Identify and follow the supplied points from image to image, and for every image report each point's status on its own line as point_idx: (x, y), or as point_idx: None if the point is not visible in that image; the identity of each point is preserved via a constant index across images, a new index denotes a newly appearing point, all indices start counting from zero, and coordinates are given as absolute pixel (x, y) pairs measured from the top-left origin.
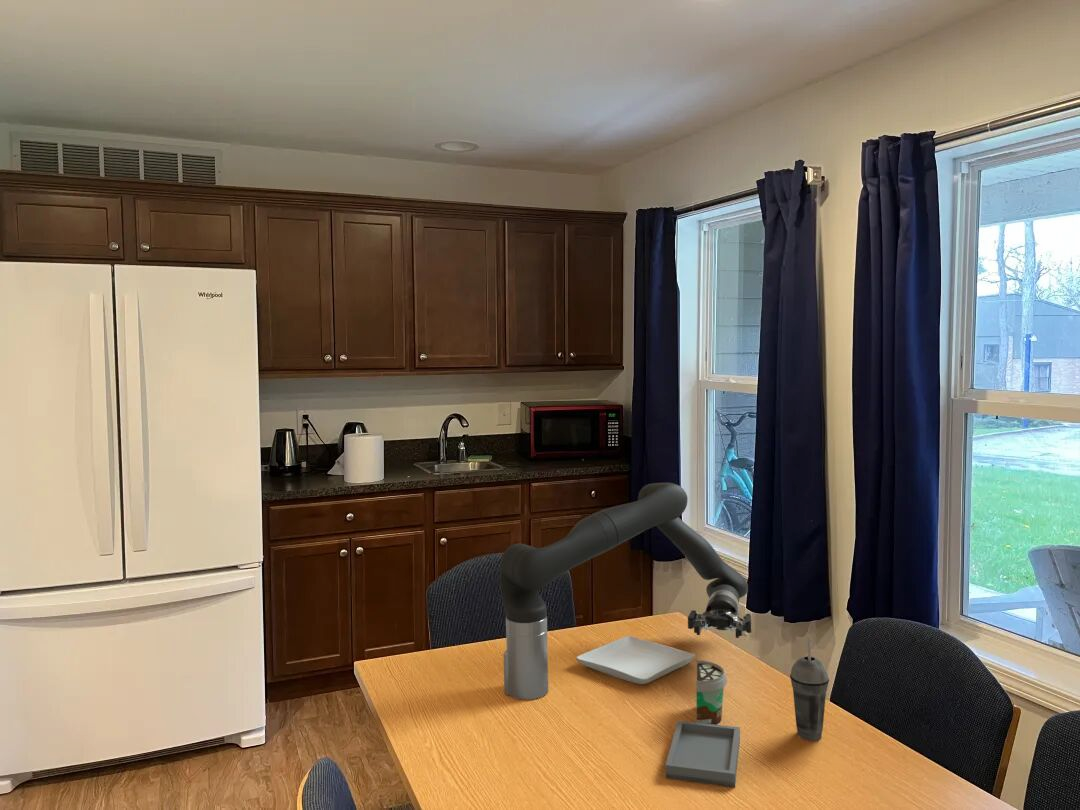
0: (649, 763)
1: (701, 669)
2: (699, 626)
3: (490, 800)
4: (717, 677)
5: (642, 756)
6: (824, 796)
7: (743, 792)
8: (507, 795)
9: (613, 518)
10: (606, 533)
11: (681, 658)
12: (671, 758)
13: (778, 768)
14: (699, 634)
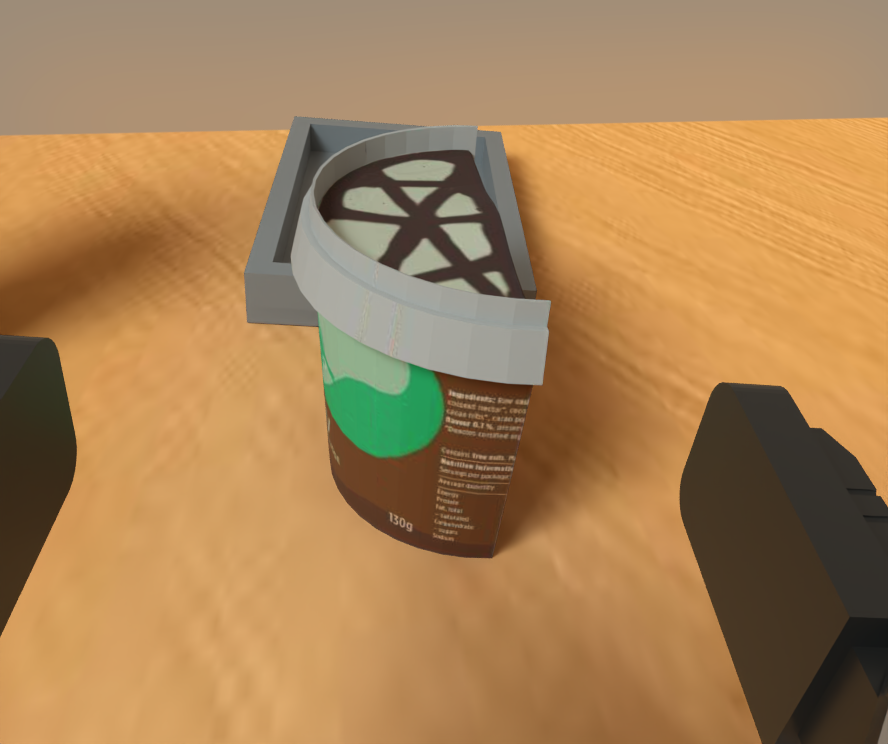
0: (564, 207)
1: (483, 262)
2: (726, 385)
3: (837, 120)
4: (357, 204)
5: (600, 227)
6: (33, 144)
7: (272, 147)
8: (820, 128)
9: None
10: None
11: None
12: (491, 148)
13: (132, 212)
14: (683, 479)
